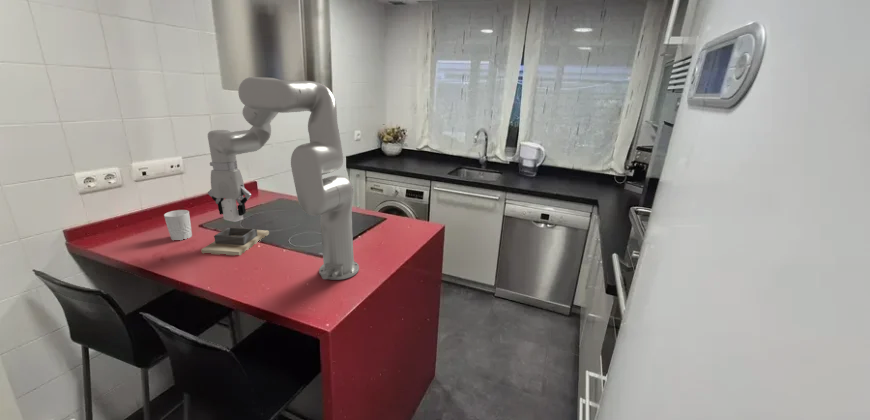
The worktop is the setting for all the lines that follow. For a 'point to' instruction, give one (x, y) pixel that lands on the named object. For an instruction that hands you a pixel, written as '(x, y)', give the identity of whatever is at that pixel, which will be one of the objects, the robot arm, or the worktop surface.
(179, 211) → the white cup
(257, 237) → the board
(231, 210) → the white wedge bracket
